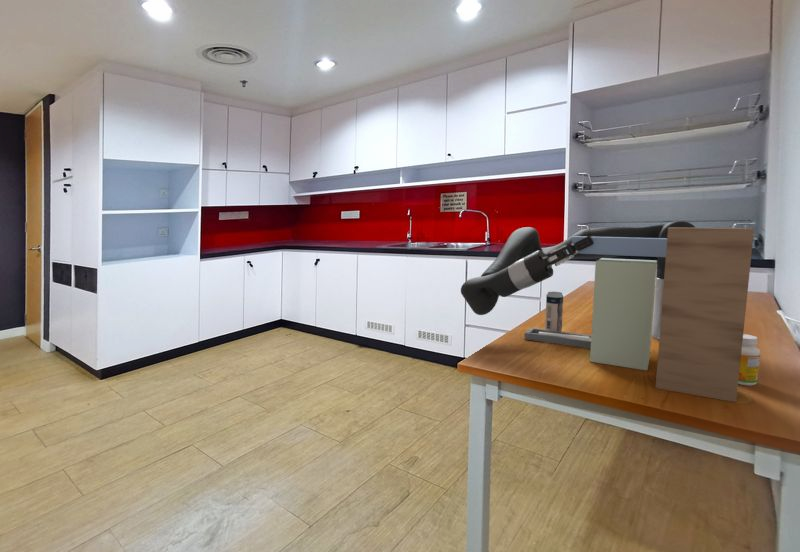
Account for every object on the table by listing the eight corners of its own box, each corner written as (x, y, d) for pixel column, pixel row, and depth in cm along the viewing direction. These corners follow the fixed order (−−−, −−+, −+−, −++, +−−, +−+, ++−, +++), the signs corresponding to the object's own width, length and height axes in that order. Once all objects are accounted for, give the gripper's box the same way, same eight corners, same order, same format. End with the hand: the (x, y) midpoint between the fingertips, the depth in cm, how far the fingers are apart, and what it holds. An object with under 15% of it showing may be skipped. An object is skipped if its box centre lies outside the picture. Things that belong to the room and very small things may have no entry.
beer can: (562, 334, 130) (564, 294, 129) (545, 333, 131) (547, 293, 130) (560, 330, 135) (562, 291, 133) (543, 329, 136) (545, 291, 134)
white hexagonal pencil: (599, 348, 119) (538, 341, 126) (599, 343, 121) (539, 336, 127) (600, 341, 118) (538, 334, 124) (600, 336, 119) (539, 329, 126)
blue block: (574, 252, 111) (575, 236, 111) (688, 256, 99) (689, 238, 98) (571, 253, 108) (572, 236, 107) (688, 258, 95) (690, 239, 95)
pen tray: (531, 333, 131) (531, 327, 131) (613, 344, 119) (613, 338, 119) (524, 339, 125) (524, 332, 125) (609, 351, 114) (610, 344, 113)
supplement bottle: (718, 377, 95) (722, 333, 94) (741, 376, 96) (746, 332, 94) (739, 386, 90) (744, 339, 89) (763, 385, 90) (769, 339, 89)
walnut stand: (657, 376, 96) (668, 227, 91) (731, 388, 89) (748, 228, 85) (655, 388, 89) (668, 228, 85) (736, 402, 82) (754, 228, 78)
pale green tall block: (596, 350, 114) (601, 258, 111) (649, 358, 108) (657, 260, 104) (589, 361, 105) (595, 261, 102) (647, 370, 99) (655, 264, 96)
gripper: (543, 280, 121) (605, 251, 112) (529, 286, 109) (596, 255, 100) (531, 255, 122) (590, 225, 113) (515, 259, 110) (580, 226, 101)
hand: (593, 239), depth 107 cm, fingers closed on blue block, 3 cm apart
